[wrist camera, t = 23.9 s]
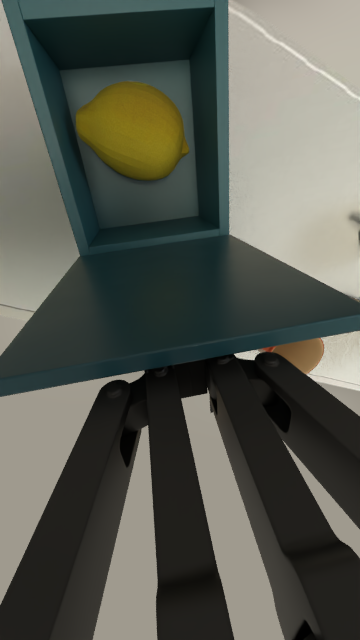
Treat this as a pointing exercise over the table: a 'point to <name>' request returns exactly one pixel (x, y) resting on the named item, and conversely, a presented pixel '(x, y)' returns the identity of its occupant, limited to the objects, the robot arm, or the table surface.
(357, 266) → the table surface
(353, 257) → the table surface
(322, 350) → the mug
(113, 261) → the lid
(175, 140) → the lemon
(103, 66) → the teal box
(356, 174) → the table surface
